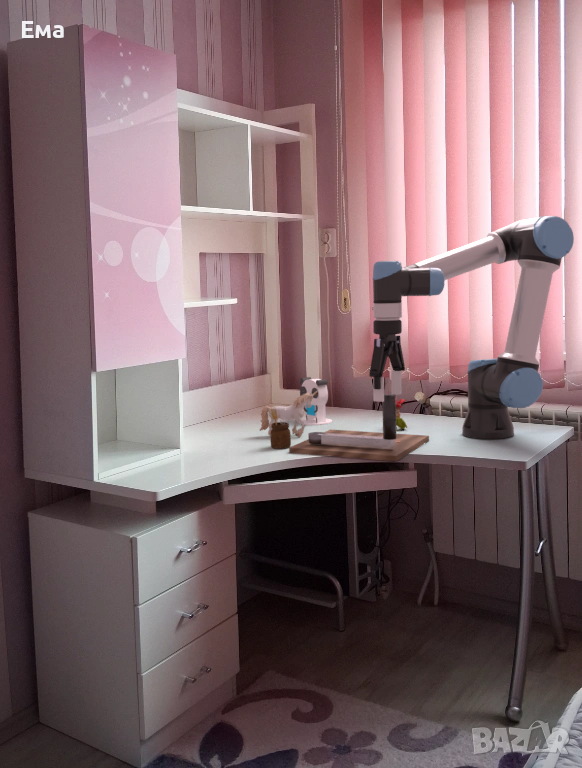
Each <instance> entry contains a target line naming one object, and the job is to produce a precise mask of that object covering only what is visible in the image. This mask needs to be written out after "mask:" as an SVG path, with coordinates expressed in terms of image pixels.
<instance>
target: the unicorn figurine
mask: <svg viewBox="0 0 582 768" xmlns="http://www.w3.org/2000/svg"><path fill="white" fill-rule="evenodd" d="M317 392H318V390H317V391H316V392H314V393H313V394H312V395H310V394H309V393H306V394H303V395H301V396H300V395H299V396H298V397H297V398H296V399H295V400H294V401H292V404H291V405H288V406H282V405H274V406H271V407H270V406H268V405H266V406H265V407H263V409H262V410H261V413H260V415H261V419H260V422H261V426H260V428H259V431H260V432H261V431H265V430H267V429H268V432H267V435H268V436H269V437H270V433H271V430H272V428H271V425H272V423H275V419H273V417H272V411H271V408H272V410H273V408H274V411H275V409H276V413H277V419H276V421H277V422H278V420H282V417H283V421H294V424H293V427H292V429H291V432H292V435H295V436H298V438H300V437H301V436H302V435H303V434H304V430H305V427H306V425H305V423H304V422H303V419H302V418H303V417H304V413H305V411H304V407H305V404H307V407H308V408H310V407H311V406H312V405H311V401H312V399H313V396H314V395H315V394H316V393H317ZM283 409H284V410H285V414H284V410H283ZM286 410H287V411H286ZM280 412H281V413H282V415H281V413H280ZM273 415H274V412H273ZM275 415H276V414H275ZM285 416H286V418H287V419H286V418H285ZM269 418H270V419H269ZM298 424H299V425H301V427H299V428H298ZM297 428H298V429H297Z"/></svg>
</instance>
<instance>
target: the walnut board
mask: <svg viewBox="0 0 582 768" xmlns="http://www.w3.org/2000/svg"><path fill="white" fill-rule="evenodd" d="M324 433H333V434H348V435H363V436H379V437H383V432H376V431H360V430H346V429H345V430H344V429H329V430H326V431H324ZM427 441H428V442H430V436H429V435H422V434H409V433H408V434H407V433H396V439H395V447H394V448H392V449H388V448H374V447H360V446H346V445H333V444H310V443H309V438H308V439H305V440H303V441H301V442H299V443H297V444H294V445H291V446H290V447H289V448H288V453H289V454H298V455H299V454H300V455H314V456H323V457H337V458H338V457H339V458H347V459H348V458H350V459H365V460H377V461H389V462H398V461H399V460H401V459H402V458H404V457H405V456H407V455H409V454H410V453H412V452H414V451H415V450H417V449H418V448H420V447H422V446H424V443H425V444H426V443H428V442H427Z"/></svg>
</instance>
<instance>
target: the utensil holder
mask: <svg viewBox="0 0 582 768" xmlns="http://www.w3.org/2000/svg"><path fill="white" fill-rule="evenodd" d="M283 410H284V409H283ZM271 411H272V417H273V419H275V423H272V425H271V428H272V430H271V433H270V436H269V437H270V447H271V448H272V449H275V450H279V449H280V450H283V449H289V447H292V445H291V444H292V442H291V441H292V438H291V429H290V424H289V422H287V420H283V417H282V419H279V420H280V421H278V420H277V421H276V419H277V413H276V409H275V411H274V408H273V410H272V408H271ZM286 411H287V410H286ZM273 412H274V415H273ZM280 413H281V412H280ZM275 414H276V415H275ZM284 414H285V410H284ZM281 415H282V413H281ZM285 418H286V416H285ZM286 419H287V418H286Z"/></svg>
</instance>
